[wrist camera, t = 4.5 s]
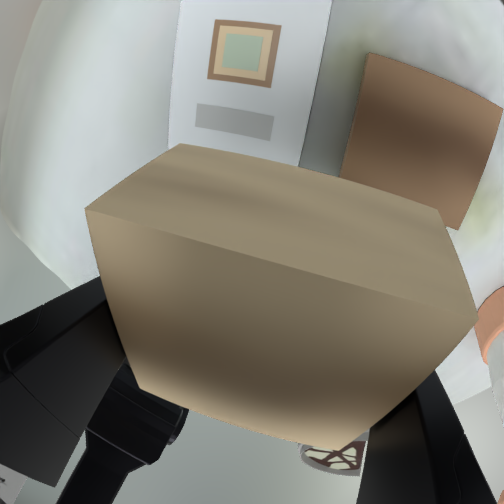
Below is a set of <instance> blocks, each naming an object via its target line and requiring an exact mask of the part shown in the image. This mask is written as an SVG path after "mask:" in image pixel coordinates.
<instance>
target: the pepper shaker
mask: <svg viewBox="0 0 504 504" xmlns="http://www.w3.org/2000/svg"><path fill="white" fill-rule="evenodd" d="M477 313H478V317H479V320H478V321H477V322H476V324H475V325H474V328H475V331H476V335H477V339H478V343H479V347H480V351H481V355H482V358H483V361H484V362H485V363H486V364H487V365H488V367H489V373H490V379H491V385H492V392H493V395H494V398H495V401H496V404H497V407H498V410H499V413H500V416H501V419H502V422H503V426H504V286H503V287H502V288H500V289H498V290H497V291H495V292H494V293H493V294H492V295H491V296H490V297H488V298H487V299H486V300H485V302H484V303H483V304H482V306H481V307H480V308H479V310H478V312H477ZM498 504H504V490H503V491H502V493H501V495H500V498H499V501H498Z"/></svg>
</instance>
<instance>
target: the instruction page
mask: <svg viewBox="0 0 504 504" xmlns="http://www.w3.org/2000/svg"><path fill="white" fill-rule="evenodd" d="M331 5H332V0H181V5H180V12H179V19H178V27H177V35H176V43H175V52H174V62H173V72H172V84H171V97H170V112H169V131H168V150H169V149H171V148H173V147H174V146H176V145H178V144H179V143H183V144H189V145H195V146H201V147H207V148H213V149H218V150H223V151H229V152H234V153H239V154H244V155H248V156H253V157H258V158H262V159H267V160H271V161H276V162H280V163H284V164H289V165H293V166H297V167H298V165H299V160H300V156H301V152H302V147H303V143H304V138H305V133H306V129H307V124H308V120H309V115H310V110H311V106H312V101H313V96H314V91H315V87H316V82H317V77H318V72H319V67H320V62H321V57H322V52H323V47H324V42H325V37H326V32H327V27H328V21H329V16H330V11H331Z"/></svg>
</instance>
